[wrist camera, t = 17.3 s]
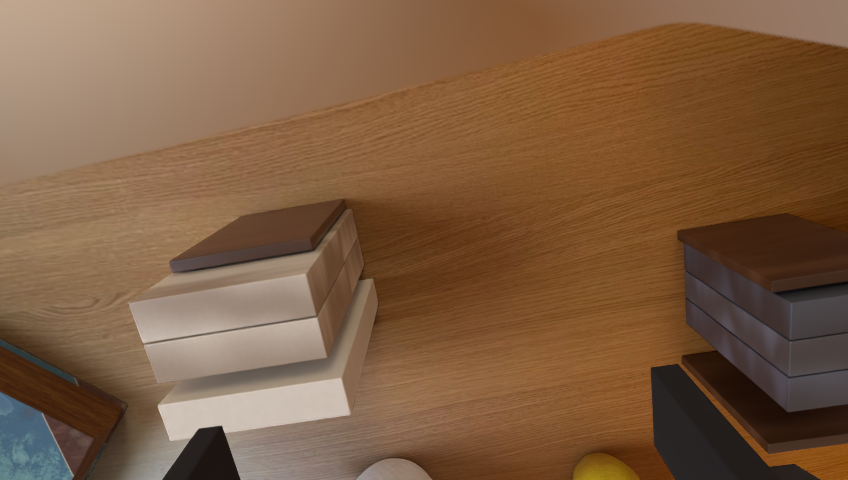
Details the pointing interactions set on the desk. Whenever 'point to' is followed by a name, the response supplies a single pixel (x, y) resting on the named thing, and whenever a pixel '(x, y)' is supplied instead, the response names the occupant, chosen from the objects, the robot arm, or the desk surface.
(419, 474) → the mug
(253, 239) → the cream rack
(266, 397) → the cream book
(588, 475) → the apple
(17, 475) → the book
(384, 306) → the desk surface
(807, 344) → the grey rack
